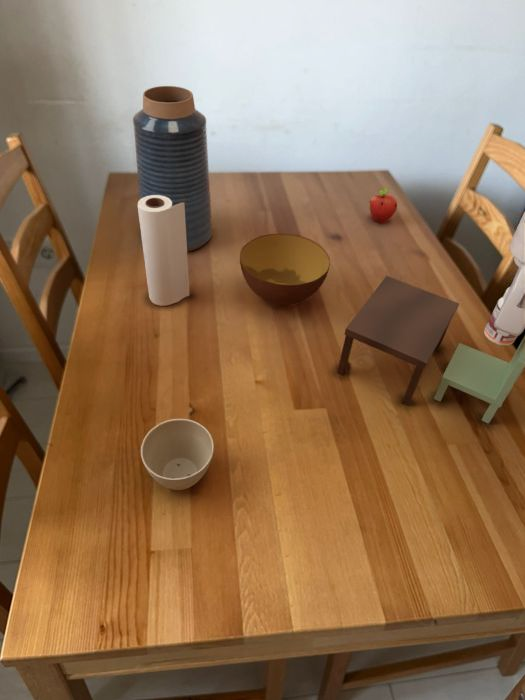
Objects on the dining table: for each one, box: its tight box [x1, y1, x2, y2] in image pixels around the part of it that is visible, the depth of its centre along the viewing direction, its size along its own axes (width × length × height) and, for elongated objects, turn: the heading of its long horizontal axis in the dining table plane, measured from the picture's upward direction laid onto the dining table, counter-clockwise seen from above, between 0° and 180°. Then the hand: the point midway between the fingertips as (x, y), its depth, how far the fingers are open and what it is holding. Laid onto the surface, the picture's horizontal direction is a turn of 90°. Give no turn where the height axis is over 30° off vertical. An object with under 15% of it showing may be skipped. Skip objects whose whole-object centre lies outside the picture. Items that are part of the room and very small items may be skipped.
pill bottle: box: [483, 286, 518, 346], centre depth 78 cm, size 5×5×8 cm
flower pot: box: [140, 418, 215, 491], centre depth 73 cm, size 10×10×7 cm
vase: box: [132, 85, 213, 252], centre depth 111 cm, size 16×16×32 cm
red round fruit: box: [369, 188, 398, 224], centre depth 128 cm, size 8×7×10 cm
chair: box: [433, 335, 525, 425], centre depth 85 cm, size 10×10×15 cm
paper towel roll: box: [137, 195, 190, 307], centre depth 97 cm, size 7×6×21 cm
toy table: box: [336, 275, 460, 407], centre depth 92 cm, size 14×18×11 cm
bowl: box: [239, 232, 331, 308], centre depth 104 cm, size 18×18×10 cm
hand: (507, 321), depth 78 cm, fingers closed on pill bottle, 5 cm apart
